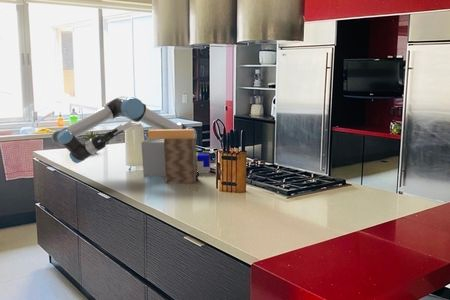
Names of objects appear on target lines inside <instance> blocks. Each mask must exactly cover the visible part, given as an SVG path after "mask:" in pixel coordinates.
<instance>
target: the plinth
mask: <svg viewBox="0 0 450 300" xmlns="http://www.w3.org/2000/svg"><path fill="white" fill-rule="evenodd" d="M140 144H141V157H142V171H143V173H142V174H143V177H150V176H151V177H166V169H165V151H164V139H144V141H141V143H140Z"/></svg>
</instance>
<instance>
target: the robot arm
mask: <svg viewBox="0 0 450 300" xmlns="http://www.w3.org/2000/svg"><path fill="white" fill-rule="evenodd" d="M119 117H124V118H127V119H129V121H128V122H126V123H125V124H119V125H118V126H116V127H115V128H113V129H112V130H111V131H108V132H106V133H105V134H103V135H99V134H97V136H95V135H94V138H92V139H90V140H89V139H88V140H89V141H86V142H85V143H82V142H81V141H80V140H79V139H78V138H77V137H81V136H82V135H84V134H86V133H87V132H88V131H89V132H90V131H91V130H92V129H94V128H96V127H97V126H100V125H101V124H103V123H105V122H107V121H108V120H114V119H115V118H119ZM132 122H135V123H139V122H141V123H143V124H145V125H147V126H149V127H151V128H153V129H154V130H155V129H194V130H195V137H196V139H197V136H198V134H197V131H196V129H195V128H194V127H192V126H188V125H185V124H183V123H181V122H174V121H172V120H171V119H168V118H166V117H164V116H162V115H161V114H160V113H157V112H155V111H153V110H151V109H149V108H148V107H147V105H146V104H145V103H143V102H142V101H141V100H140V99H139V98H137V97H133V96H119V97H116V98H114V99H113V100H110V101H108V102H107V103H105V104H103V105H102V107H101V108H99V109H98V110H96V111H94V112H92V113H90V114H88V115H87V116H85V117H83V118H80V119H79V120H78V121H76V122H74V123H72V124H70V125H68V126H66V127H64V128H63V129H59V130H55V131H54V132H53V133H52V134H51V141H52V142H53V143H54V144H55V145H58V146H61V147H64V148H65V149H66V150H67V151H69V158H70V159H71V161H72V162H73V163H74V164H80V163H81V162H84V161H85V160H86V159H88V158H90V157H92V156H93V155H96V154H97V153H98V152H99V151H101V150H103V149H105V148H106V145H107V144H106V143H107V142H110V140H112V139H114V138H115V137H116V136H118V135H120V134H121V133H123V132H125V131H126V130H128V129H129V128H131V127H133V126H134V125H133V123H132Z"/></svg>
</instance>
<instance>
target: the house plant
mask: <svg viewBox="0 0 450 300" xmlns="http://www.w3.org/2000/svg"><path fill="white" fill-rule="evenodd" d="M93 131H94V130H92V131H91V130H89V132H90V133H89V132H88V131H87V132H85V134H84V136H83V135H80V137H81V138H83V139H82V142H83V141H84V140H85V141H86V142H87V141H89V140H90V139H92V138H94V137H95V136H97V135H99V133H101V132H102V130H100V131H97V132H93ZM85 136H86V137H85Z"/></svg>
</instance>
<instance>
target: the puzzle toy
mask: <svg viewBox="0 0 450 300" xmlns="http://www.w3.org/2000/svg"><path fill="white" fill-rule="evenodd" d="M196 155H197V171H198V172H199V173H198V174H202V173H205V174H206V173H207V174H208V173H210V172H211V152H210V151H196Z"/></svg>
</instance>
